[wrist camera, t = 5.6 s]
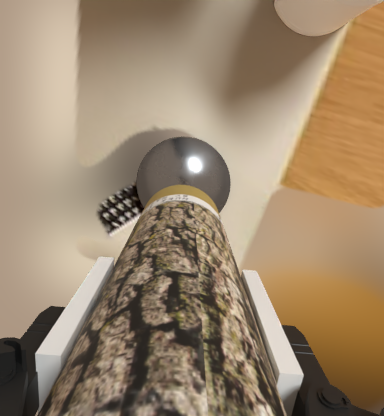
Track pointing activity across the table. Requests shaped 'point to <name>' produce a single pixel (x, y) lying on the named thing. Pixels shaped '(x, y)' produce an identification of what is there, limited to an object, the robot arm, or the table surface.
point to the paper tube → (170, 326)
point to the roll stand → (184, 169)
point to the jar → (320, 14)
